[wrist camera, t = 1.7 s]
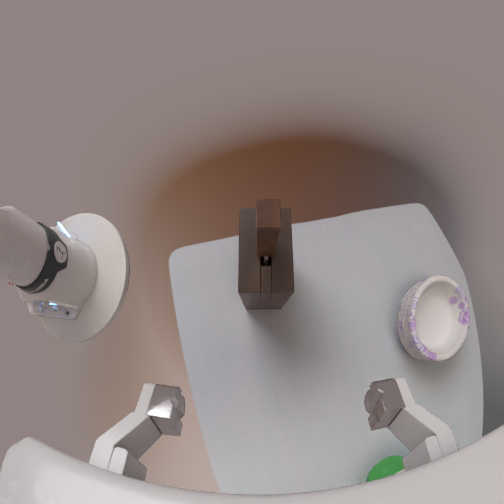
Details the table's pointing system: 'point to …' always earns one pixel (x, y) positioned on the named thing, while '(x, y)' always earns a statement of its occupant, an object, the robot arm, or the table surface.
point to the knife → (267, 227)
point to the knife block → (264, 277)
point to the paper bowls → (433, 319)
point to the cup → (387, 468)
